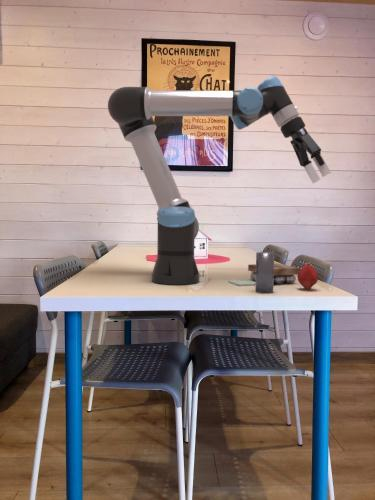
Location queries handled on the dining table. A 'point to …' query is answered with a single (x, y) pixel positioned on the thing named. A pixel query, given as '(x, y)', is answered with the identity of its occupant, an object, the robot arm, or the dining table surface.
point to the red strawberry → (307, 276)
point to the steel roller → (264, 272)
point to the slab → (278, 269)
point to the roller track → (278, 278)
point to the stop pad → (243, 282)
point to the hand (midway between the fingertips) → (321, 178)
